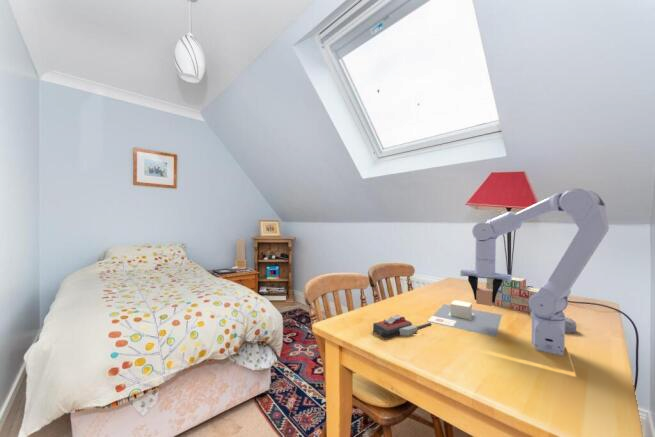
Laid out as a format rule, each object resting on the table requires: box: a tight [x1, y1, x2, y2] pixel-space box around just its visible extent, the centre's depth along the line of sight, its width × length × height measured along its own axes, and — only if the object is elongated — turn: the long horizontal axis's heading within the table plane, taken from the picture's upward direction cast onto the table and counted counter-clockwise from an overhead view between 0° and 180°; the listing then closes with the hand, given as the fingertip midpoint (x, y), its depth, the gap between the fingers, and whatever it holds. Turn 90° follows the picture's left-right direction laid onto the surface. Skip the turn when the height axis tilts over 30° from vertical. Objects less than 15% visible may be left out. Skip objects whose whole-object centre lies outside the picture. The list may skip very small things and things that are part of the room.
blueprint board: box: [426, 303, 503, 338], centre depth 97 cm, size 24×20×1 cm
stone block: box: [529, 312, 577, 334], centre depth 94 cm, size 12×5×10 cm
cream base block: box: [450, 299, 473, 319], centre depth 101 cm, size 6×6×4 cm
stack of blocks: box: [486, 276, 540, 316], centre depth 110 cm, size 21×6×12 cm, turn 36°
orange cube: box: [475, 287, 493, 307], centre depth 91 cm, size 4×4×4 cm
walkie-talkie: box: [372, 314, 432, 339], centre depth 88 cm, size 9×4×20 cm
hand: (484, 300), depth 91 cm, fingers closed on orange cube, 4 cm apart
